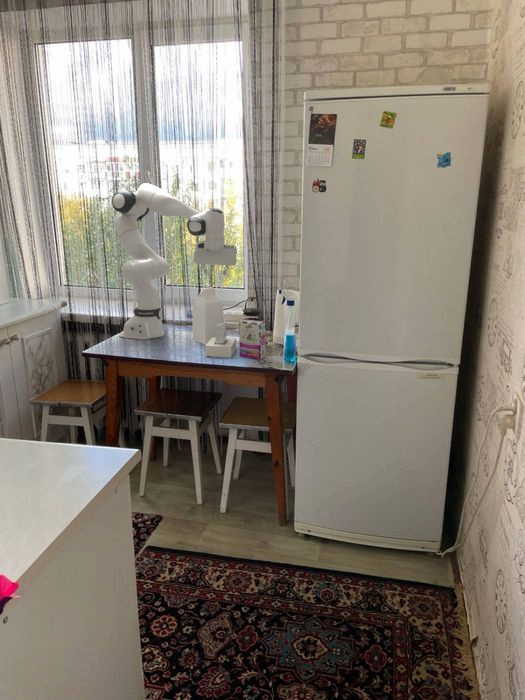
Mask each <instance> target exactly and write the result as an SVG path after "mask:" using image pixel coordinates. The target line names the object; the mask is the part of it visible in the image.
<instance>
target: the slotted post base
mask: <svg viewBox="0 0 525 700" xmlns="http://www.w3.org/2000/svg"><path fill="white" fill-rule="evenodd" d="M204 346H205V357H206V356H211V357H212V358H232V357H233V355H234V353H235V352H236V350H237V337H226V345H224V344H216V337H212V338H211V339H210V341H209V342H208V343H207V344H206V345H204ZM211 357H210V358H211Z"/></svg>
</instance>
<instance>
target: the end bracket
mask: <svg viewBox="0 0 525 700" xmlns="http://www.w3.org/2000/svg"><path fill="white" fill-rule="evenodd" d="M226 338H227V324H226V323H225V322H224V323H218V324H217V325H216V344H224V345H226Z"/></svg>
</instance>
